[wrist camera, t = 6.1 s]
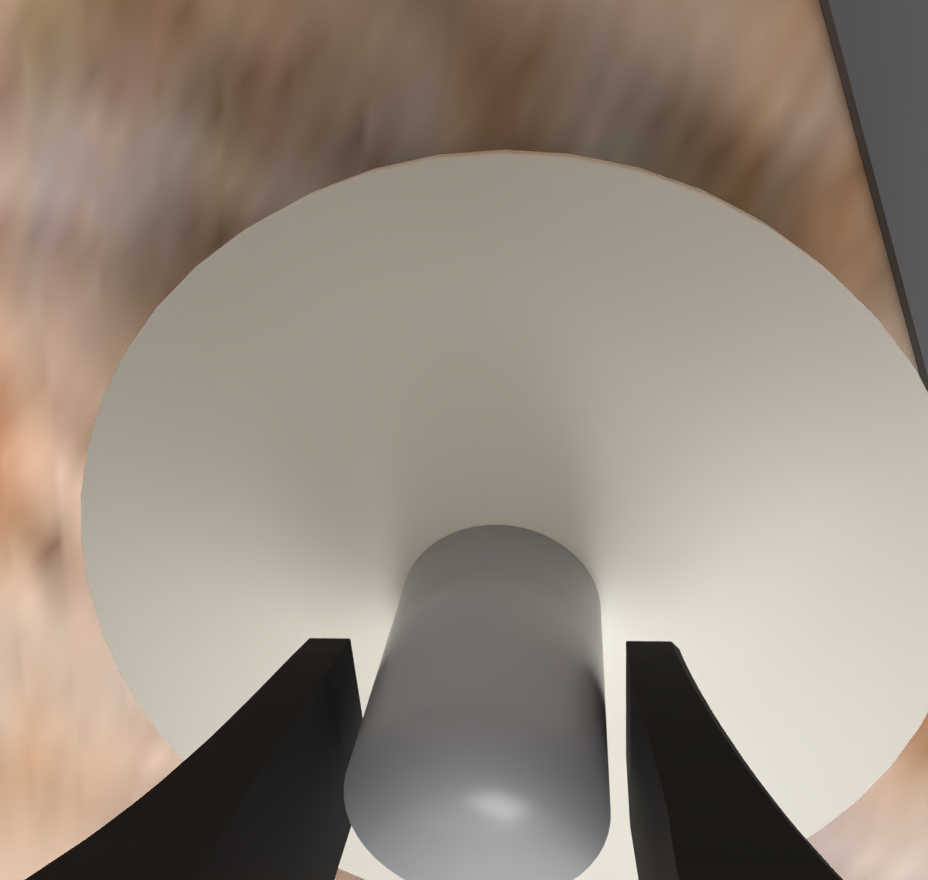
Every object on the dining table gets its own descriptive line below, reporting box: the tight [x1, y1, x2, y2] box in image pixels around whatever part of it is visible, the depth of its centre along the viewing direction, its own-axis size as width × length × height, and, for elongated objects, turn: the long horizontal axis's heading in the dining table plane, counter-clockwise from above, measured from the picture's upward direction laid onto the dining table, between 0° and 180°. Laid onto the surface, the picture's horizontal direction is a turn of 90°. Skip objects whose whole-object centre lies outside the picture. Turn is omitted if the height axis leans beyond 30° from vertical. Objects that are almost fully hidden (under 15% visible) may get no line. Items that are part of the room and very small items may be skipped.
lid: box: [81, 150, 928, 880], centre depth 13 cm, size 14×14×5 cm
